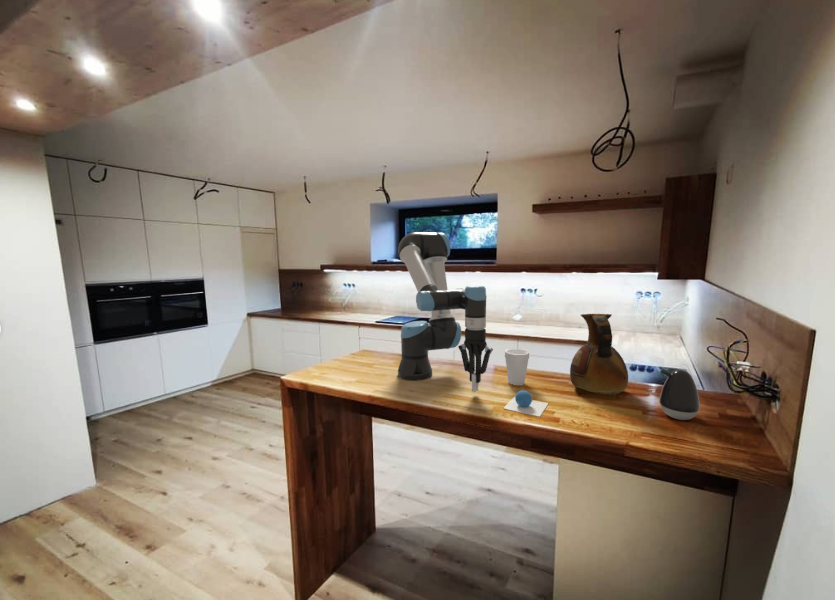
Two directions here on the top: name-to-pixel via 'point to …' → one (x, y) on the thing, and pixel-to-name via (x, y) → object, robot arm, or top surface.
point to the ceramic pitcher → (599, 360)
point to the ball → (523, 398)
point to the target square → (533, 409)
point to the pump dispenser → (679, 395)
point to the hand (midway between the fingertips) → (475, 390)
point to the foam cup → (516, 365)
